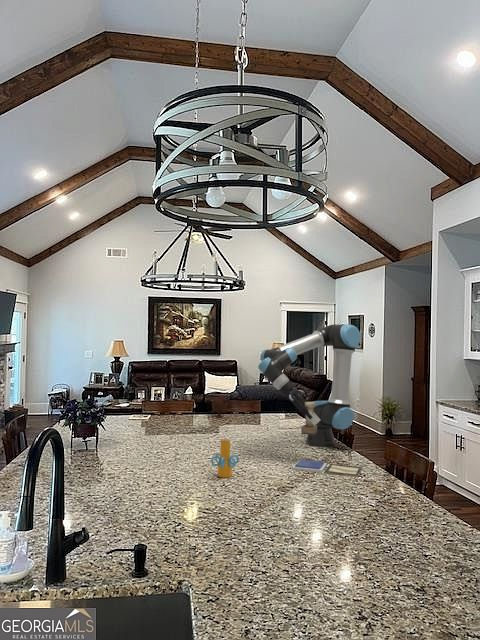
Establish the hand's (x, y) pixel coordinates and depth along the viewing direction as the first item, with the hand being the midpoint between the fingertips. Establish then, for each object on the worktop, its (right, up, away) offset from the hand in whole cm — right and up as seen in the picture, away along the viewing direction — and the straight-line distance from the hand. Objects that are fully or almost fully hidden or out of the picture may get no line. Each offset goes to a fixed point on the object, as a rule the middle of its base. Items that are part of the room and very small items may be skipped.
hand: (317, 422), depth 252 cm
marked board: (+9, -18, -16) cm, 26 cm away
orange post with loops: (-43, -17, -28) cm, 54 cm away
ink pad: (-5, -18, -11) cm, 22 cm away
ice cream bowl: (-51, -19, +117) cm, 129 cm away
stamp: (-4, -5, +1) cm, 6 cm away
